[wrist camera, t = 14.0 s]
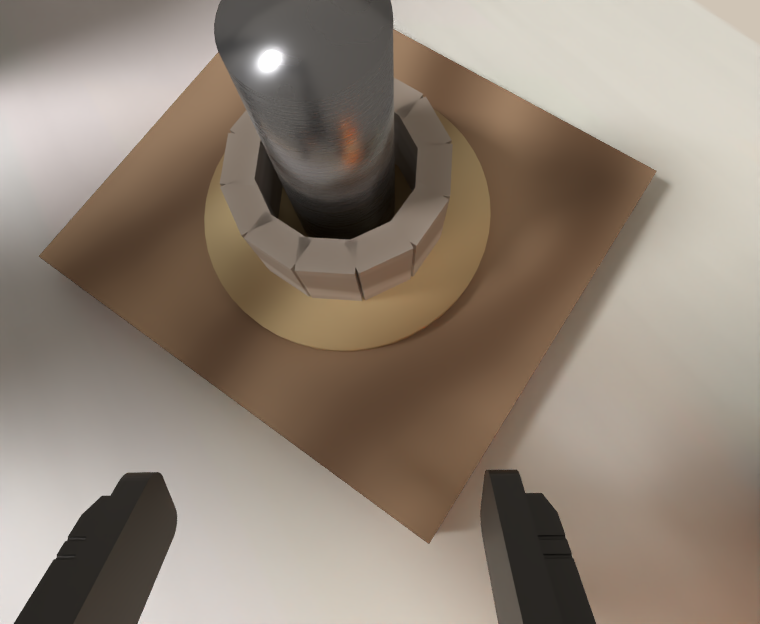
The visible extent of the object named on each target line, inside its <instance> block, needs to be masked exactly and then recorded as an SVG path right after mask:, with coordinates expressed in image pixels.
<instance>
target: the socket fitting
mask: <svg viewBox="0 0 760 624" xmlns="http://www.w3.org/2000/svg"><path fill="white" fill-rule="evenodd" d="M393 62H394V156H395V215H394V218H393V219H392V220H391V221H390V222H388V223H386V224H384V225H382V226H379V227H377V228H375V229H373V230H371V231H369V232H366V233H364V234H362V235H360V236H358V237H355V238H353V239H351V240H345V239H328V238H312V237H308V235H307V234H306V233H305V231H304V229H303V227H302V225H301V222H300V220H299V218H298V216H297V214H296V212H295V210H294V208H293V206H292V204H291V202H290V200H289V197H288V195H287V193H286V191H285V189H284V187H283V185H282V183H281V181H280V179H279V177H278V175H277V173H276V170H275V168H274V166H273V164H272V162H271V160H270V158H269V156H268V154H267V152H266V150H265V148H264V146H263V143H262V141H261V139H260V137H259V135H258V133H257V131H256V129H255V127H254V125H253V123H252V121H251V119H250V116H249V114H248V112H247V110H246V108H245V106H244V104H243V102H242V100H241V98H240V96H239V94H238V92H237V89H236V87H235V85H234V83H233V81H232V79H231V77H230V75H229V73H228V71H227V69H226V67H225V64H224V62H223V60H222V58H221V56H220V54H219V52H218V53H217V54H216V55H215V56H214V58H213V59H212V60H211V61H210V62H209V63H208V64H207V66H206V67H205V68H204V69H203V70H202V71H201V72H200V74H199V75H198V76H197V77H196V78H195V79H194V80H193V81H192V83H191V84H190V85H189V86H188V87H187V88H186V89H185V91H184V92H183V93H182V94H181V95H180V96H179V97H178V99H177V100H176V101H175V102H174V103H173V104H172V105H171V106H170V108H169V109H168V110H167V111H166V112H165V113H164V114H163V116H162V117H161V118H160V119H159V120H158V121H157V122H156V124H155V125H154V126H153V127H152V128H151V129H150V130H149V131H148V133H147V134H146V135H145V136H144V137H143V138H142V139H141V141H140V142H139V143H138V144H137V145H136V146H135V147H134V149H133V150H132V151H131V152H130V153H129V154H128V155H127V156H126V158H125V159H124V160H123V161H122V162H121V163H120V164H119V166H118V167H117V168H116V169H115V170H114V171H113V172H112V174H111V175H110V176H109V177H108V178H107V179H106V180H105V181H104V183H103V184H102V185H101V186H100V187H99V188H98V189H97V191H96V192H95V193H94V194H93V195H92V196H91V197H90V199H89V200H88V201H87V202H86V203H85V204H84V205H83V206H82V208H81V209H80V210H79V211H78V212H77V213H76V214H75V216H74V217H73V218H72V219H71V220H70V221H69V222H68V224H67V225H66V226H65V227H64V228H63V229H62V230H61V231H60V233H59V234H58V235H57V236H56V237H55V238H54V239H53V241H52V242H51V243H50V244H49V245H48V246H47V247H46V249H45V250H44V251H43V252H42V253H41V254H40V255H39V257H40V258H41V259H43V260H44V261H45V262H47V263H48V264H50V265H51V266H52V267H54V268H55V269H56V270H58V271H59V272H60V273H62V274H63V275H64V276H66V277H67V278H69V279H70V280H71V281H73V282H74V283H75V284H77V285H78V286H79V287H81V288H82V289H83V290H85V291H86V292H88V293H89V294H90V295H92V296H93V297H94V298H96V299H97V300H98V301H100V302H101V303H102V304H104V305H105V306H107V307H108V308H109V309H111V310H112V311H113V312H115V313H116V314H117V315H119V316H120V317H121V318H123V319H124V320H126V321H127V322H128V323H130V324H131V325H132V326H134V327H135V328H136V329H138V330H139V331H141V332H142V333H143V334H145V335H146V336H147V337H149V338H150V339H151V340H153V341H154V342H155V343H157V344H158V345H160V346H161V347H162V348H164V349H165V350H166V351H168V352H169V353H170V354H172V355H173V356H174V357H176V358H177V359H179V360H180V361H181V362H183V363H184V364H185V365H187V366H188V367H189V368H191V369H192V370H193V371H195V372H196V373H198V374H199V375H200V376H202V377H203V378H204V379H206V380H207V381H208V382H210V383H211V384H212V385H214V386H215V387H217V388H218V389H219V390H221V391H222V392H223V393H225V394H226V395H227V396H229V397H230V398H231V399H233V400H234V401H236V402H237V403H238V404H240V405H241V406H242V407H244V408H245V409H246V410H248V411H249V412H250V413H252V414H253V415H255V416H256V417H257V418H259V419H260V420H261V421H263V422H264V423H265V424H267V425H268V426H269V427H271V428H272V429H274V430H275V431H276V432H278V433H279V434H280V435H282V436H283V437H284V438H286V439H287V440H288V441H290V442H291V443H293V444H294V445H295V446H297V447H298V448H299V449H301V450H302V451H303V452H305V453H306V454H307V455H309V456H310V457H312V458H313V459H314V460H316V461H317V462H318V463H320V464H321V465H322V466H324V467H325V468H326V469H328V470H329V471H331V472H332V473H333V474H335V475H336V476H337V477H339V478H340V479H341V480H343V481H344V482H345V483H347V484H348V485H350V486H351V487H352V488H354V489H355V490H356V491H358V492H359V493H360V494H362V495H363V496H364V497H366V498H367V499H369V500H370V501H371V502H373V503H374V504H375V505H377V506H378V507H379V508H381V509H382V510H383V511H385V512H386V513H388V514H389V515H390V516H392V517H393V518H394V519H396V520H397V521H398V522H400V523H401V524H402V525H404V526H405V527H407V528H408V529H409V530H411V531H412V532H413V533H415V534H416V535H417V536H419V537H420V538H421V539H423V540H424V541H426V542H427V543H428V544H429V543H430V542H431V540H432V538H433V537H434V535H435V533H436V532H437V530H438V529H439V527H440V525H441V524H442V522H443V520H444V519H445V517H446V515H447V514H448V512H449V510H450V509H451V507H452V506H453V504H454V502H455V501H456V499H457V497H458V496H459V494H460V492H461V491H462V489H463V488H464V486H465V484H466V483H467V481H468V479H469V478H470V476H471V474H472V473H473V471H474V470H475V468H476V466H477V465H478V463H479V461H480V460H481V458H482V456H483V455H484V453H485V452H486V450H487V448H488V447H489V445H490V443H491V442H492V440H493V438H494V437H495V435H496V434H497V432H498V430H499V429H500V427H501V425H502V424H503V422H504V420H505V419H506V417H507V416H508V414H509V412H510V411H511V409H512V407H513V406H514V404H515V402H516V401H517V399H518V397H519V396H520V394H521V393H522V391H523V389H524V388H525V386H526V384H527V383H528V381H529V379H530V378H531V376H532V375H533V373H534V371H535V370H536V368H537V366H538V365H539V363H540V361H541V360H542V358H543V357H544V355H545V353H546V352H547V350H548V348H549V347H550V345H551V343H552V342H553V340H554V339H555V337H556V335H557V334H558V332H559V330H560V329H561V327H562V325H563V324H564V322H565V321H566V319H567V317H568V316H569V314H570V312H571V311H572V309H573V307H574V306H575V304H576V303H577V301H578V299H579V298H580V296H581V294H582V293H583V291H584V289H585V288H586V286H587V284H588V283H589V281H590V280H591V278H592V276H593V275H594V273H595V271H596V270H597V268H598V266H599V265H600V263H601V262H602V260H603V258H604V257H605V255H606V253H607V252H608V250H609V248H610V247H611V245H612V244H613V242H614V240H615V239H616V237H617V235H618V234H619V232H620V230H621V229H622V227H623V226H624V224H625V222H626V221H627V219H628V217H629V216H630V214H631V212H632V211H633V209H634V208H635V206H636V204H637V203H638V201H639V199H640V198H641V196H642V194H643V193H644V191H645V190H646V188H647V186H648V185H649V183H650V181H651V180H652V178H653V176H654V175H655V173H656V170H654V169H652V168H650V167H648V166H646V165H645V164H643V163H641V162H639V161H637V160H635V159H633V158H632V157H630V156H628V155H626V154H624V153H622V152H620V151H619V150H617V149H615V148H613V147H611V146H609V145H607V144H606V143H604V142H602V141H600V140H598V139H596V138H594V137H593V136H591V135H589V134H587V133H585V132H583V131H581V130H580V129H578V128H576V127H574V126H572V125H570V124H568V123H567V122H565V121H563V120H561V119H559V118H557V117H555V116H554V115H552V114H550V113H548V112H546V111H544V110H542V109H541V108H539V107H537V106H535V105H533V104H531V103H529V102H528V101H526V100H524V99H522V98H520V97H518V96H516V95H515V94H513V93H511V92H509V91H507V90H505V89H503V88H502V87H500V86H498V85H496V84H494V83H492V82H490V81H489V80H487V79H485V78H483V77H481V76H479V75H477V74H476V73H474V72H472V71H470V70H468V69H466V68H464V67H463V66H461V65H459V64H457V63H455V62H453V61H451V60H450V59H448V58H446V57H444V56H442V55H440V54H438V53H437V52H435V51H433V50H431V49H429V48H427V47H425V46H424V45H422V44H420V43H418V42H416V41H414V40H412V39H411V38H409V37H407V36H405V35H403V34H401V33H400V32H398V31H396V30H394V29H393Z"/></svg>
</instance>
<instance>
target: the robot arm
mask: <svg viewBox="0 0 760 624" xmlns="http://www.w3.org/2000/svg"><path fill="white" fill-rule="evenodd" d="M480 517H481V530H482V537H483V542H484V548H485V553H486V559H487V564H488V570H489V575H490V580H491V586H492V591H493V597H494V602H495V608H496V613H497V618H498V624H596V622H595V619H594V616H593V613H592V611H591V608H590V605H589V602H588V599H587V596H586V593H585V590H584V588H583V585H582V582H581V579H580V576H579V573H578V570H577V567H576V564H575V562H574V559H573V558H572V553H571V550H570V547H569V544H568V541H567V539H566V538H565V533H564V530H563V527H562V524H561V521H560V518H559V516H558V513H557V511H556V510H555V509H554V508H553V506H552V505H551V504H550V503H549V501H548V500H547V499H546V498H545V496H544V495H543V494H542V493H525V491H524V487H523V484H522V481H521V477H520V474H519V472H518V471H517V470H486V471H485V477H484V485H483V493H482V501H481V511H480ZM176 525H177V512H176V508H175V506H174V503H173V501H172V498H171V496H170V493H169V491H168V488H167V486H166V484H165V481H164V479H163V476H162V475H161V474H160V473H158V472H142V473H126V474H125V475H124V476H123V477H122V478H121V479H120V481H119V482H118V484H117V486H116V487H115V489H114V491H113V493H112V494H111V496H101V497H100V498H99V499H98V500H97V501H96V502H95V503H94V504H93V505H92V506H91V507H90V508H88V509H87V510H86V511H85V512H84V513H83V514H82V515H81V517H80V518H79V520H78V522H77V523H76V525H75V526H74V528H73V530H72V531H71V533H70V534H69V536H68V540H67V541H65V542H64V544H63V546H62V547H61V549H60V550H59V552H58V554H57V558H56V559H54V560H53V562H52V563H51V565H50V566H49V568H48V570H47V571H46V573H45V574H44V576H43V578H42V579H41V581H40V582H39V584H38V586H37V587H36V589H35V590H34V592H33V594H32V595H31V597H30V598H29V600H28V602H27V603H26V605H25V606H24V608H23V610H22V611H21V613H20V614H19V616H18V618H17V619H16V621H15V622H14V624H137V623H138V621H139V619H140V616H141V614H142V611H143V609H144V607H145V604H146V602H147V599H148V597H149V595H150V592H151V590H152V587H153V585H154V583H155V580H156V578H157V575H158V573H159V571H160V568H161V566H162V564H163V561H164V559H165V556H166V554H167V552H168V549H169V547H170V544H171V542H172V540H173V537H174V534H175V531H176Z"/></svg>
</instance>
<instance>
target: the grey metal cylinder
mask: <svg viewBox="0 0 760 624" xmlns="http://www.w3.org/2000/svg"><path fill="white" fill-rule="evenodd" d="M214 34H215V41H216V45H217V49H218V52H219V54H220V56H221V58H222V60H223V62H224V64H225V67H226V69H227V71H228V73H229V75H230V77H231V79H232V81H233V83H234V85H235V87H236V89H237V92H238V94H239V96H240V98H241V100H242V102H243V104H244V106H245V108H246V110H247V112H248V114H249V116H250V119H251V121H252V123H253V125H254V127H255V129H256V131H257V133H258V135H259V137H260V139H261V141H262V143H263V146H264V148H265V150H266V152H267V154H268V156H269V158H270V160H271V162H272V164H273V166H274V168H275V170H276V173H277V175H278V177H279V179H280V181H281V183H282V185H283V187H284V189H285V191H286V193H287V195H288V197H289V200H290V202H291V204H292V206H293V208H294V210H295V212H296V214H297V216H298V218H299V220H300V222H301V225H302V227H303V229H304V231H305V233H306V234H307V235H308V237H312V238H328V239H345V240H351V239H353V238H355V237H358V236H360V235H362V234H364V233H366V232H369V231H371V230H373V229H375V228H377V227H379V226H382V225H384V224H386V223H388V222H390V221H391V220H392V219H393V218H394V215H395V156H394V62H393V12H392V5H391V2H390V0H221V2H220V4H219V7H218V10H217V13H216V18H215V23H214Z"/></svg>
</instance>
